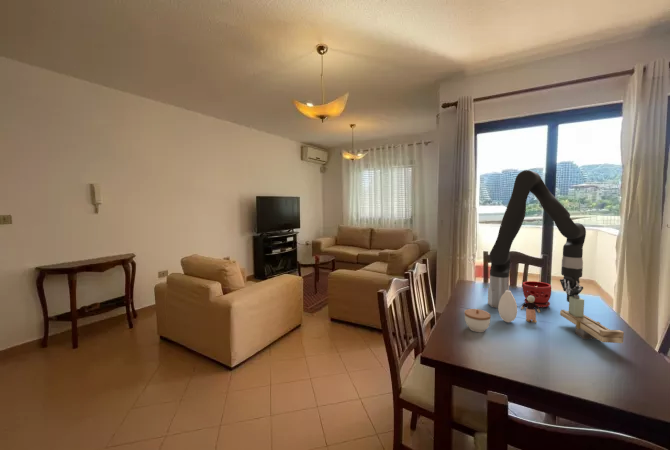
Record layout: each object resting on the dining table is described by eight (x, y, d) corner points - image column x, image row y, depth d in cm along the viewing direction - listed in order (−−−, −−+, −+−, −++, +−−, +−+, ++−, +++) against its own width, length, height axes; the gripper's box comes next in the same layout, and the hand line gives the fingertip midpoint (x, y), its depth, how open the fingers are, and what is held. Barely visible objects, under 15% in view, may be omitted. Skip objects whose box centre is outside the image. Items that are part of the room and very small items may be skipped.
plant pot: (549, 302, 160) (550, 282, 159) (551, 310, 149) (552, 288, 148) (521, 298, 167) (522, 279, 166) (522, 306, 156) (523, 285, 155)
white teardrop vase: (518, 326, 132) (520, 288, 131) (500, 324, 135) (501, 287, 133) (514, 319, 140) (515, 283, 138) (496, 317, 142) (497, 282, 141)
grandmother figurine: (538, 320, 138) (539, 295, 136) (540, 323, 134) (541, 297, 133) (519, 318, 141) (520, 293, 140) (521, 321, 137) (522, 295, 136)
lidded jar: (466, 322, 138) (467, 303, 137) (491, 327, 131) (492, 308, 131) (462, 330, 129) (462, 311, 128) (488, 337, 123) (489, 316, 122)
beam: (599, 351, 109) (601, 331, 108) (558, 322, 134) (559, 305, 134) (624, 353, 108) (625, 332, 107) (577, 323, 133) (578, 306, 132)
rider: (574, 316, 127) (575, 296, 126) (568, 313, 130) (569, 293, 130) (583, 317, 126) (584, 297, 125) (577, 313, 130) (578, 294, 129)
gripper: (554, 262, 138) (552, 297, 139) (572, 269, 125) (570, 307, 126) (571, 262, 137) (569, 297, 138) (591, 269, 124) (589, 307, 125)
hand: (570, 302), depth 132 cm, fingers closed
